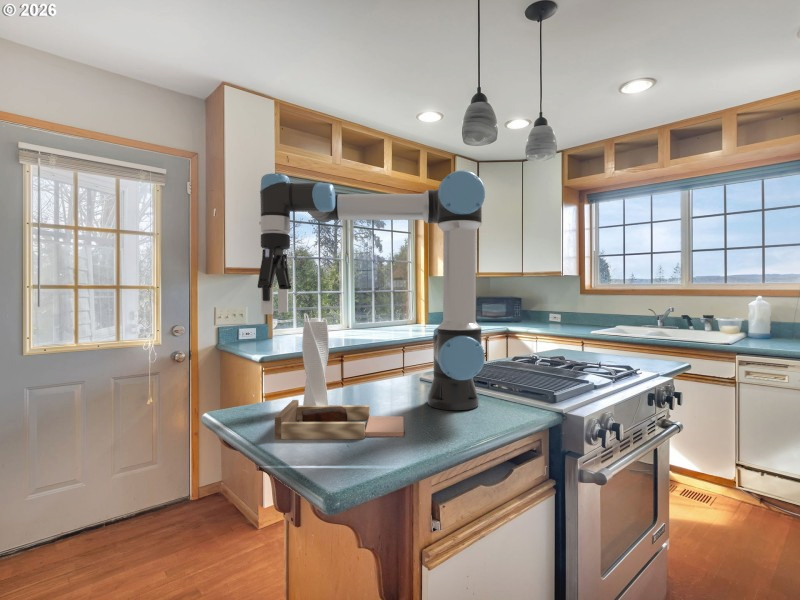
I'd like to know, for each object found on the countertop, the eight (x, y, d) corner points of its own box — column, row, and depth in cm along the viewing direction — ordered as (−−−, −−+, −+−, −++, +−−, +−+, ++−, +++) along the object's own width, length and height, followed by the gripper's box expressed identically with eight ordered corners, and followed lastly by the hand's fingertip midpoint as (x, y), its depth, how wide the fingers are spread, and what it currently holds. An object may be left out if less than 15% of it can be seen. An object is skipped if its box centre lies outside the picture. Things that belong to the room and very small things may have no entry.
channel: (369, 418, 114) (369, 399, 114) (364, 438, 98) (364, 417, 98) (292, 418, 114) (292, 399, 114) (274, 439, 98) (274, 417, 98)
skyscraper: (296, 410, 122) (295, 312, 122) (310, 404, 129) (310, 311, 129) (319, 413, 119) (319, 313, 119) (333, 407, 126) (333, 312, 126)
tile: (403, 420, 113) (403, 416, 113) (403, 436, 100) (403, 432, 100) (369, 420, 113) (369, 416, 113) (364, 436, 100) (364, 432, 100)
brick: (303, 434, 101) (301, 415, 100) (302, 428, 104) (301, 410, 104) (348, 428, 103) (347, 409, 103) (346, 422, 107) (345, 404, 107)
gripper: (275, 240, 127) (276, 311, 127) (243, 226, 102) (244, 315, 102) (300, 239, 127) (301, 311, 127) (275, 226, 102) (275, 315, 102)
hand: (275, 313), depth 114 cm, fingers open, 13 cm apart
